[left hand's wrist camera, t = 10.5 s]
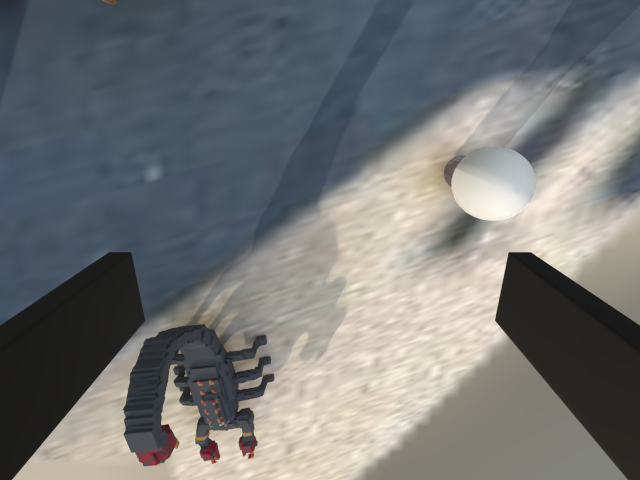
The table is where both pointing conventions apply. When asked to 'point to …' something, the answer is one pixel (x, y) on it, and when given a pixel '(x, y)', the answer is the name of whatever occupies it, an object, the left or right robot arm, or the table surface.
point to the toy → (205, 386)
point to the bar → (111, 2)
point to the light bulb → (491, 182)
